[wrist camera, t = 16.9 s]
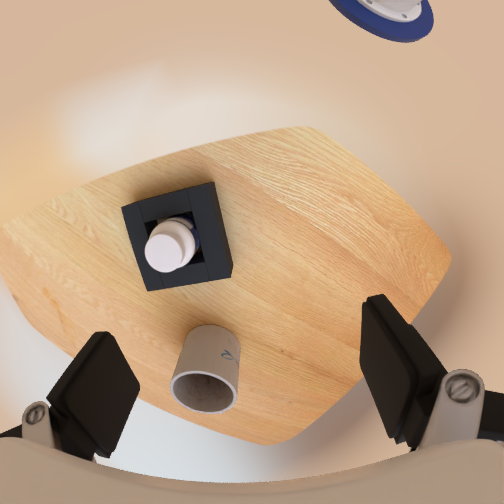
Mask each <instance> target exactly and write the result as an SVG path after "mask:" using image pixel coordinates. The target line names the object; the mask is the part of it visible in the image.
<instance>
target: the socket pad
mask: <svg viewBox="0 0 504 504" xmlns="http://www.w3.org/2000/svg"><path fill="white" fill-rule="evenodd" d="M121 209H122V213H123V217H124V220H125V224H126V228H127V231H128V234H129V238H130V241H131V244H132V248H133V251H134V254H135V257H136V260H137V263H138V266H139V269H140V272H141V275H142V278H143V281H144V284H145V286H146V289H147V291H154V290H160V289H166V288H172V287H178V286H184V285H190V284H196V283H202V282H208V281H214V280H220V279H225V278H231V274H232V269H233V262H232V258H231V253H230V249H229V245H228V241H227V236H226V232H225V228H224V223H223V219H222V215H221V210H220V206H219V201H218V197H217V192H216V188H215V183H214V182H210V183H205V184H201V185H197V186H193V187H189V188H185V189H181V190H177V191H173V192H169V193H166V194H162V195H158V196H155V197H151V198H147V199H144V200H141V201H137V202H134V203H131V204H129V205H126V206H123V207H121ZM190 211H192V213H193V217H194V221H195V225H196V229H197V233H198V237H199V241H200V244H201V248H202V252H203V253H198V254H194V255H193V257H192V258H191V260H190V261H189V262H188V263H187V264H186V265H184V266H182V267H180V268H176V269H175V270H173V271H171V272H160V271H157V270H155V269H154V268H153V267H151V266H150V264H149V263H148V261H147V259H146V256H145V246H146V244H147V242H148V240H149V237H150V235H151V233H152V231H153V230H154V228H155V227H156V226H158V224H157V219H161V218H165V217H169V216H173V215H177V214H181V213H185V212H190Z"/></svg>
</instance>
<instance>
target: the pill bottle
mask: <svg viewBox="0 0 504 504" xmlns="http://www.w3.org/2000/svg"><path fill="white" fill-rule="evenodd" d="M199 246H200V241H199V237H198V233H197V229H196V225H195V221H194V217H193V215H192V214H189V213H181V214H177V215H173V216H171V217H169V218H168V219H167V220H165V221H163V222H162V223H160V224H159V225H158V226H156V227H155V228H154V230H153V231H152V233H151V235H150V237H149V240H148V242H147V244H146V246H145V256H146V259H147V261H148V263H149V264H150V266H151V267H153V268H154V269H155V270H157V271H160V272H171V271H173V270H175V269H176V268H180V267H182V266H184V265H186V264H187V263H188V262H189V261H190V260H191V258H192V257H193V255H194V254H195V252H196V251H197V249H198V247H199Z"/></svg>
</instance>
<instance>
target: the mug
mask: <svg viewBox="0 0 504 504" xmlns="http://www.w3.org/2000/svg"><path fill="white" fill-rule="evenodd" d="M239 361H240V343H239V341H238V339H237V338H236V336H235V335H234V334H233V333H232V332H230V331H229V330H227V329H225V328H223V327H221V326H217V325H202V326H198V327H196V328H194V329H193V330H191V331H190V332H189V333H188V335H187V337H186V339H185V342H184V345H183V348H182V351H181V353H180V356H179V359H178V362H177V365H176V368H175V371H174V373H173V376H172V379H171V382H170V392H171V394H172V396H173V397H174V399H175V400H176V401H177V402H178V403H179V404H181V405H182V406H184V407H185V408H187V409H189V410H192V411H195V412H199V413H205V414H216V413H217V414H220V413H224V411H227V410H229V409H230V408H232V407H233V406H234V404H235V403H236V401H237V390H238V376H239Z"/></svg>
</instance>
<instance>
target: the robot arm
mask: <svg viewBox="0 0 504 504" xmlns="http://www.w3.org/2000/svg"><path fill="white" fill-rule="evenodd" d="M357 1H358V2H359V3H360V4H362V5H363V6H364V7H366V8H367V9H369V10H370V11H372V12H373V13H375V14H377V15H379V16H381V17H384V18H386V19H389V20H392V21H396V22H403V23H404V22H411V21H413V20H415V19H416V18H418V16H419V15H420V13H421V2H420V1H422V0H357ZM360 367H361V370H362V372H363V374H364V377H365V379H366V381H367V384H368V386H369V389H370V391H371V394H372V396H373V399H374V401H375V404H376V406H377V409H378V411H379V414H380V416H381V419H382V422H383V424H384V427H385V429H386V432H387V435H388V436H389V438H394V439H395V442H396V444H399V443H402V442H405V441H406V442H407V445H408V447H411V448H410V451H409V453H407V454H404V455H400V456H397V457H394V458H390V459H387V460H384V461H380V462H376V463H373V464H369V465H366V466H362V467H358V468H354V469H350V470H345V471H341V472H336V473H331V474H326V475H320V476H313V477H307V478H300V479H293V480H283V481H272V482H256V483H211V482H196V481H184V480H175V479H167V478H161V477H153V476H148V475H143V474H138V473H133V472H128V471H124V470H120V469H116V468H112V467H108V466H104V465H101V464H97V463H96V460H95V457H94V453H96V454H97V455H98V456H101V457H105V458H110V455H111V453H112V452H113V451H114V450H115V449H116V446H117V443H118V441H119V438H120V436H121V433H122V431H123V429H124V426H125V424H126V421H127V419H128V416H129V414H130V411H131V409H132V407H133V404H134V402H135V400H136V398H137V396H138V393H139V391H140V384H139V382H138V380H137V378H136V377H135V375H134V373H133V371H132V370H131V368H130V366H129V364H128V363H127V361H126V359H125V357H124V355H123V353H122V351H121V349H120V347H119V345H118V344H117V342H116V340H115V338H114V336H113V335H111V334H110V333H109V332H107V331H104V332H95V333H94V334H93V335H92V336H91V338H90V339H89V340H88V341H87V343H86V344H85V345H84V346H83V348H82V349H81V350H80V352H79V353H78V354H77V356H76V357H75V358H74V360H73V361H72V362H71V364H70V365H69V366H68V368H67V369H66V370H65V372H64V373H63V375H62V376H61V377H60V379H59V380H58V381H57V383H56V384H55V386H54V387H53V389H52V390H51V391H50V393H49V394H48V396H47V397H46V399H47V400H48V401H49V402H50V404H51V407H50V408H49V406H48V405H47V404H46V403H45V402H43V401H38V402H34V403H33V404H31V405H30V406H28V407H27V408H26V410H25V411H24V413H23V416H22V424H21V425H19V426H17V427H15V428H12V429H10V430H8V431H6V432H3V433H1V434H0V504H504V394H503V393H497V392H492V391H487V390H485V389H484V383H483V380H482V379H481V377H479V375H478V374H476V373H475V372H473V371H471V370H467V369H458V370H453V371H451V372H449V373H448V372H447V371H446V369H445V368H444V366H443V365H442V364H441V362H440V361H439V359H438V358H437V357H436V355H435V354H434V353H433V351H432V350H431V349H430V347H429V346H428V345H427V343H426V342H425V341H424V339H423V338H422V337H421V336H420V334H419V333H418V332H417V330H416V329H415V328H414V327H413V326H412V325H410V324H407V322H406V321H405V320H404V318H403V317H402V316H401V315H400V313H399V312H398V311H397V310H396V308H395V307H394V306H393V305H392V303H391V302H390V301H389V300H388V299H387V297H386V296H385V295H384V294H379V295H375V296H371V297H368V298H367V301H366V302H363V304H362V325H361V345H360Z"/></svg>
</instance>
